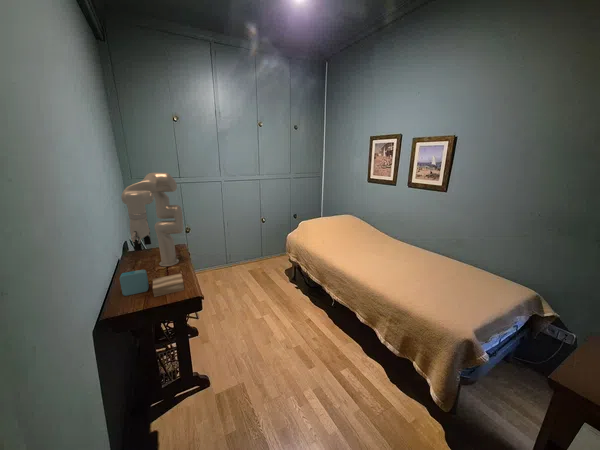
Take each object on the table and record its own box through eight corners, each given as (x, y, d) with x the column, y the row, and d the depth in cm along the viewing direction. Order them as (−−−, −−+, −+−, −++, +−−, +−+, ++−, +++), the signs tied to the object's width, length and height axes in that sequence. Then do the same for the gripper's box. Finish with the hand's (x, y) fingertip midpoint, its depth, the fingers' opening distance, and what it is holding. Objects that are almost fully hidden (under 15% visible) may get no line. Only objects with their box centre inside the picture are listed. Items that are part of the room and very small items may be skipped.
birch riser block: (154, 286, 139) (152, 278, 138) (182, 280, 147) (181, 273, 146) (154, 297, 129) (152, 288, 127) (184, 289, 136) (183, 282, 135)
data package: (149, 287, 138) (145, 268, 135) (148, 291, 135) (145, 271, 132) (124, 292, 133) (120, 273, 130) (122, 296, 129) (118, 276, 126)
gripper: (139, 213, 131) (144, 242, 135) (120, 220, 114) (126, 253, 118) (153, 212, 132) (158, 241, 136) (137, 219, 115) (142, 252, 119)
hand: (143, 247), depth 127 cm, fingers open, 9 cm apart
